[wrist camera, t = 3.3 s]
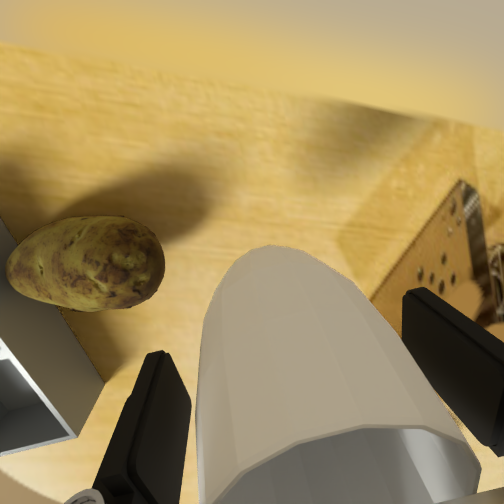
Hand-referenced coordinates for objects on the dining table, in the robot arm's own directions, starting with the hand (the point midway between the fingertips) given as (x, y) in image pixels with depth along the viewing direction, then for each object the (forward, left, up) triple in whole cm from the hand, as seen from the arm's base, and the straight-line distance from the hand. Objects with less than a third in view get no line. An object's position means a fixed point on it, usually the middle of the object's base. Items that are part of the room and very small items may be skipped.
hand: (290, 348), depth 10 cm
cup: (0, 0, -16) cm, 16 cm away
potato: (+2, +14, -16) cm, 21 cm away
